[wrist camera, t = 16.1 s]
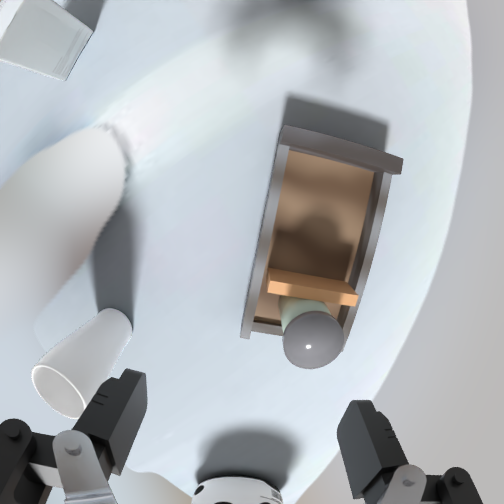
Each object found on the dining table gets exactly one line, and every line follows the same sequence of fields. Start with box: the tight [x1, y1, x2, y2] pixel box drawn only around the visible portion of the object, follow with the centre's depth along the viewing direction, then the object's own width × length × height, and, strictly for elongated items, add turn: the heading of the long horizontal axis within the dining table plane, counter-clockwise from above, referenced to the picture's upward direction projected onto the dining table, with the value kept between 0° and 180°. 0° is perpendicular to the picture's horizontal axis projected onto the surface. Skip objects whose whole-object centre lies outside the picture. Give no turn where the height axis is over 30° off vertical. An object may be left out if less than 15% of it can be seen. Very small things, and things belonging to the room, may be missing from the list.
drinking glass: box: [31, 308, 132, 419], centre depth 27 cm, size 7×7×15 cm
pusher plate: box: [266, 268, 359, 306], centre depth 29 cm, size 1×9×4 cm, turn 80°
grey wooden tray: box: [240, 125, 403, 352], centre depth 29 cm, size 22×12×5 cm, turn 169°
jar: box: [278, 295, 344, 369], centre depth 28 cm, size 5×5×9 cm
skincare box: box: [0, 0, 93, 81], centre depth 18 cm, size 8×6×15 cm
